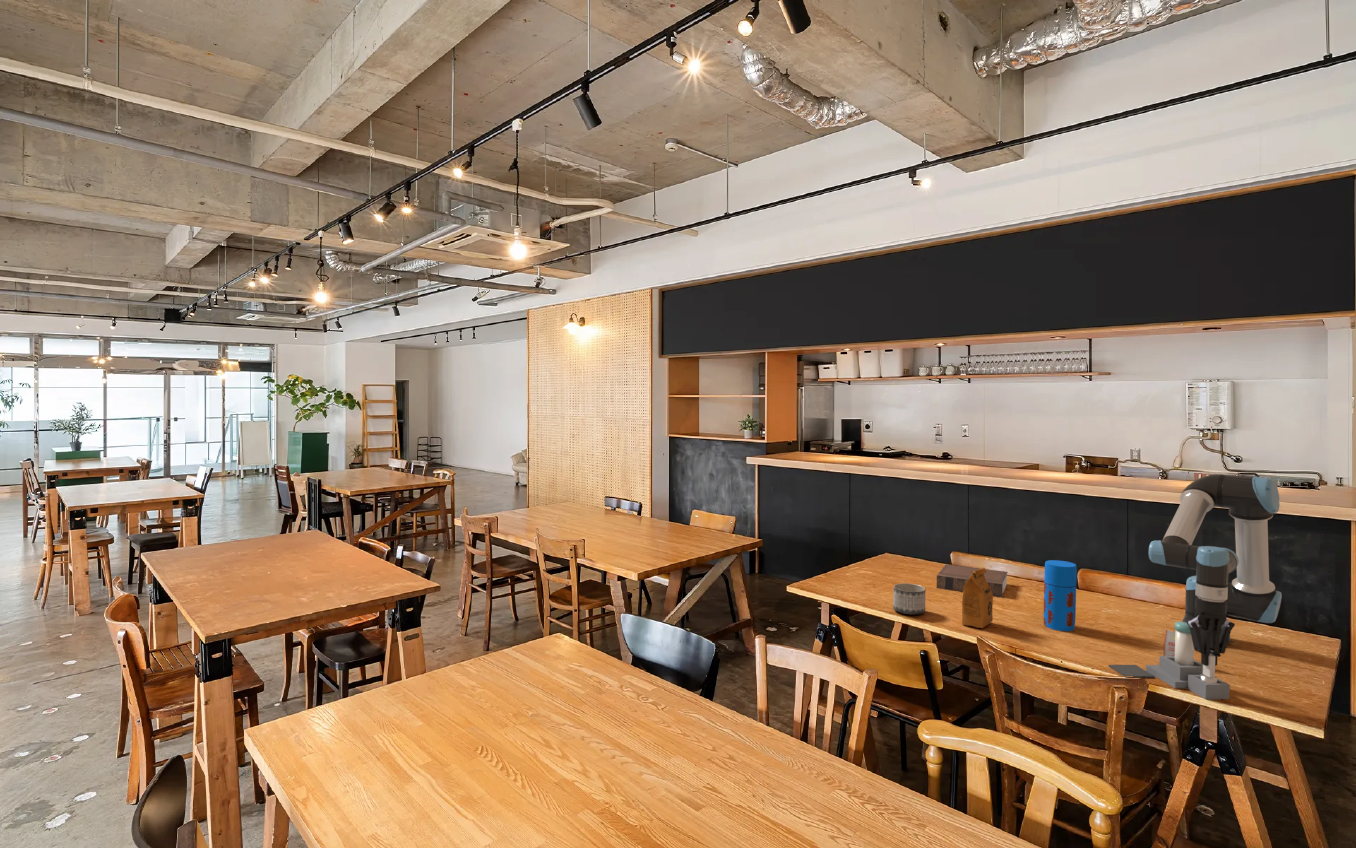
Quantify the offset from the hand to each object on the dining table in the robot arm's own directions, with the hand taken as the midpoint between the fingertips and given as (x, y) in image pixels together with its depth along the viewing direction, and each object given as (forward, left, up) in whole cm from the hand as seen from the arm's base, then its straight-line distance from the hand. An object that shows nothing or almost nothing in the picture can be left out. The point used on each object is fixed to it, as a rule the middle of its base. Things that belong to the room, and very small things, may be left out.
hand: (1208, 675), depth 200 cm
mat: (-16, -12, -6) cm, 21 cm away
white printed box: (-25, +9, -6) cm, 27 cm away
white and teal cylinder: (-10, 0, -4) cm, 11 cm away
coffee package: (-61, -43, -6) cm, 75 cm away
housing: (-6, 0, -6) cm, 8 cm away
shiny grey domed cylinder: (0, 0, -5) cm, 5 cm away
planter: (-76, -65, -6) cm, 100 cm away
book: (-114, -22, -7) cm, 117 cm away
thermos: (-59, -12, -6) cm, 61 cm away
